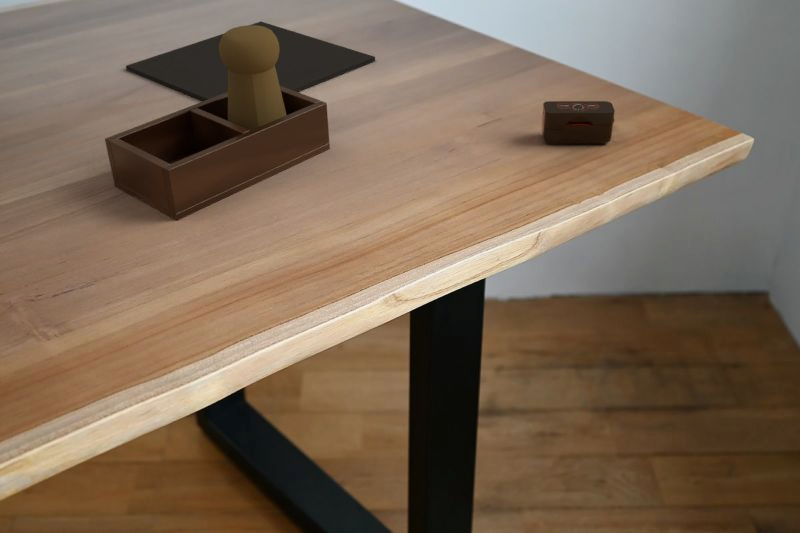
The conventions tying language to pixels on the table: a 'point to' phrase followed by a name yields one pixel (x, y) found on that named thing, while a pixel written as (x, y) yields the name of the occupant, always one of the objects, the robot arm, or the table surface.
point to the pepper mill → (252, 76)
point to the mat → (208, 76)
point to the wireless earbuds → (577, 121)
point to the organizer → (212, 152)
